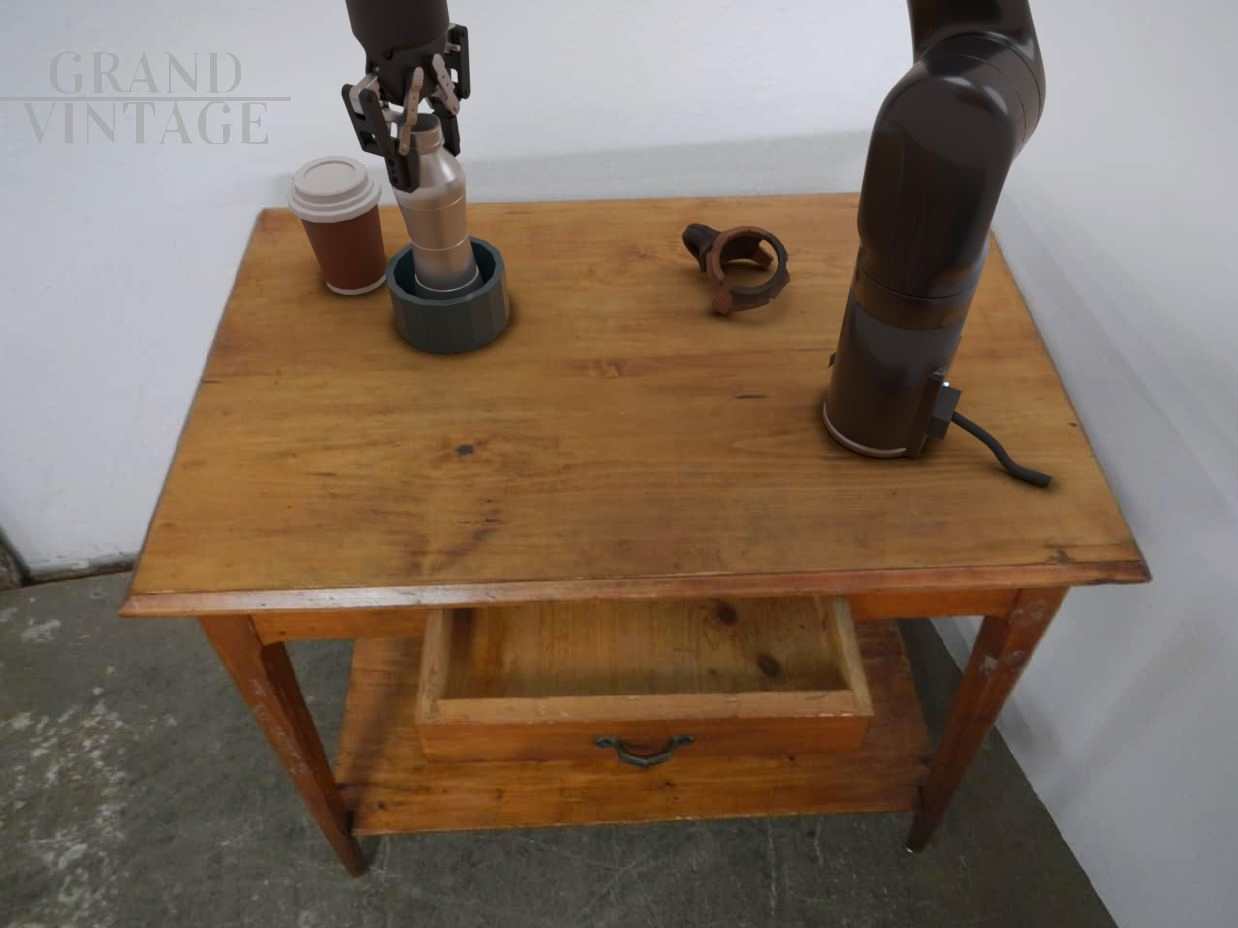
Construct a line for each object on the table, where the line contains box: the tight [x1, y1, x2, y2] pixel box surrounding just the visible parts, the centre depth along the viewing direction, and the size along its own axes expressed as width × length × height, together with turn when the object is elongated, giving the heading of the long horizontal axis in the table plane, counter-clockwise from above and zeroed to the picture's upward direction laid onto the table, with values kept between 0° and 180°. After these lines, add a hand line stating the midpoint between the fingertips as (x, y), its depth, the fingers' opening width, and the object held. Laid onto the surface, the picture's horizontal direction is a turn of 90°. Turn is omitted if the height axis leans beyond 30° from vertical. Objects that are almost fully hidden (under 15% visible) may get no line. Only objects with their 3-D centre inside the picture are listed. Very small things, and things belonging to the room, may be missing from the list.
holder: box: [385, 234, 511, 355], centre depth 92 cm, size 11×11×6 cm
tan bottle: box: [390, 112, 484, 300], centre depth 86 cm, size 6×7×20 cm
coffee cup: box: [285, 155, 388, 296], centre depth 94 cm, size 9×9×12 cm
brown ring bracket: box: [681, 222, 792, 315], centre depth 95 cm, size 12×10×8 cm
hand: (428, 170), depth 82 cm, fingers closed on tan bottle, 5 cm apart
